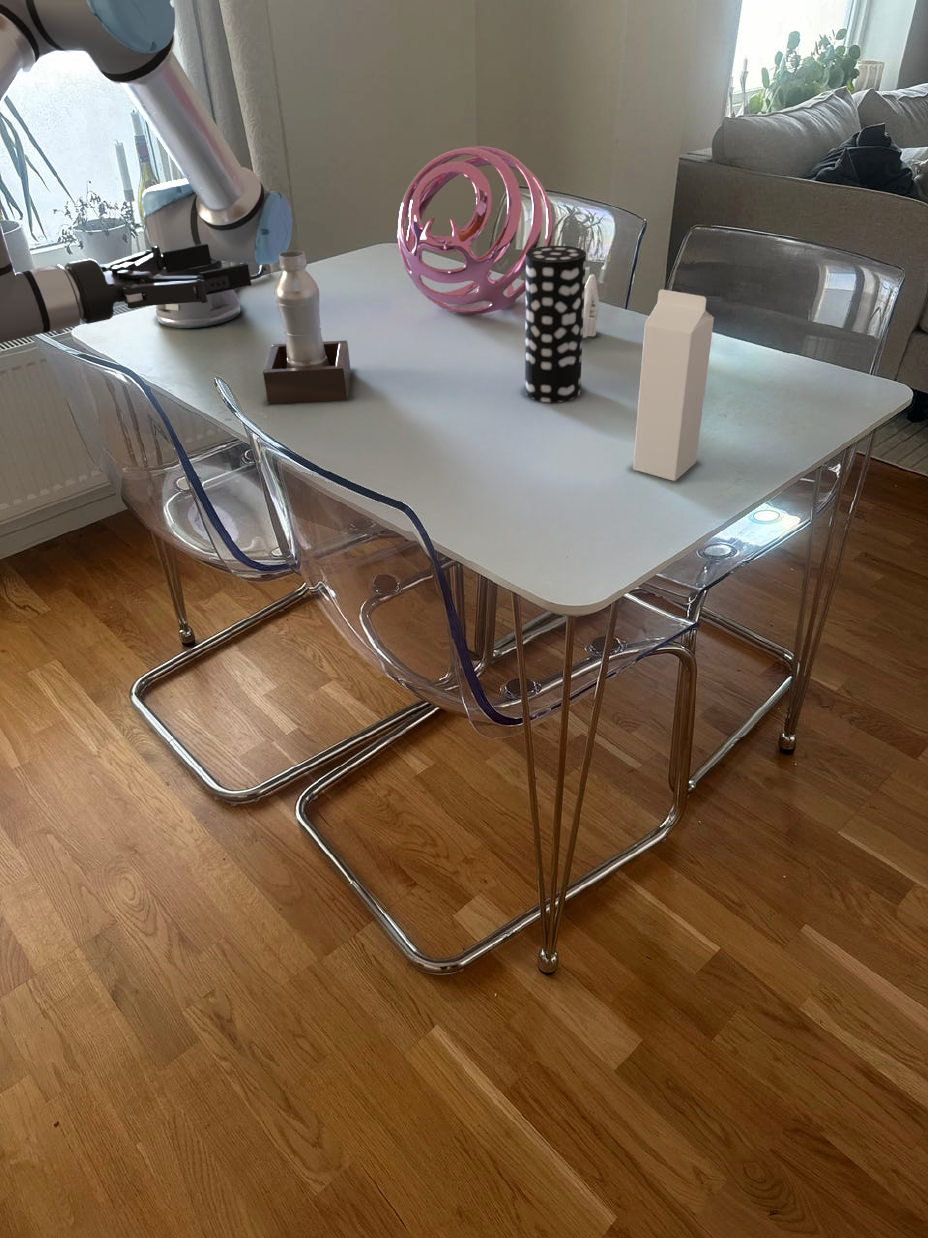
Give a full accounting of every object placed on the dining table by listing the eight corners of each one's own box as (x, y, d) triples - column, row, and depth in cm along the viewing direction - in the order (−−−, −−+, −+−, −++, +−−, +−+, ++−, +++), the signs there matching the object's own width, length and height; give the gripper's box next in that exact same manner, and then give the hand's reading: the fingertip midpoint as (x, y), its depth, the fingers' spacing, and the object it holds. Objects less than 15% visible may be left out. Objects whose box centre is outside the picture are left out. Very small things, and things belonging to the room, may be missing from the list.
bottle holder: (276, 374, 148) (271, 344, 145) (350, 370, 148) (347, 340, 145) (268, 404, 138) (262, 372, 136) (347, 400, 139) (343, 368, 136)
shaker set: (556, 353, 151) (558, 284, 145) (538, 347, 154) (539, 279, 147) (604, 334, 158) (607, 267, 151) (585, 328, 160) (588, 262, 153)
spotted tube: (585, 383, 141) (592, 247, 129) (573, 405, 134) (578, 263, 122) (533, 378, 143) (534, 244, 131) (518, 399, 137) (518, 260, 125)
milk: (654, 452, 121) (670, 281, 108) (696, 463, 118) (718, 289, 105) (632, 470, 118) (646, 295, 105) (675, 482, 114) (695, 303, 101)
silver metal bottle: (324, 396, 140) (306, 260, 128) (283, 394, 141) (261, 259, 130) (337, 379, 145) (321, 247, 133) (297, 377, 147) (277, 247, 135)
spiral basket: (478, 165, 179) (417, 92, 154) (599, 217, 170) (555, 149, 145) (412, 299, 185) (344, 249, 160) (526, 356, 176) (472, 314, 151)
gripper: (54, 301, 128) (199, 272, 137) (111, 349, 111) (271, 312, 121) (38, 245, 124) (188, 218, 133) (94, 286, 107) (262, 253, 116)
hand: (228, 263), depth 127 cm, fingers open, 13 cm apart
